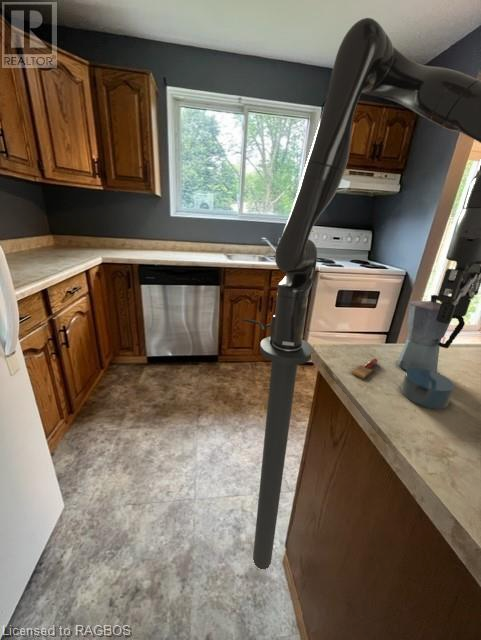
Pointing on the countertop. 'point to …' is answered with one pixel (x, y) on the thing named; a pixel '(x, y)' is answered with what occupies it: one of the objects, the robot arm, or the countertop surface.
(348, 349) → the countertop surface
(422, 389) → the pot
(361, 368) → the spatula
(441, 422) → the countertop surface
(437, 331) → the moka pot
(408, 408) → the countertop surface
